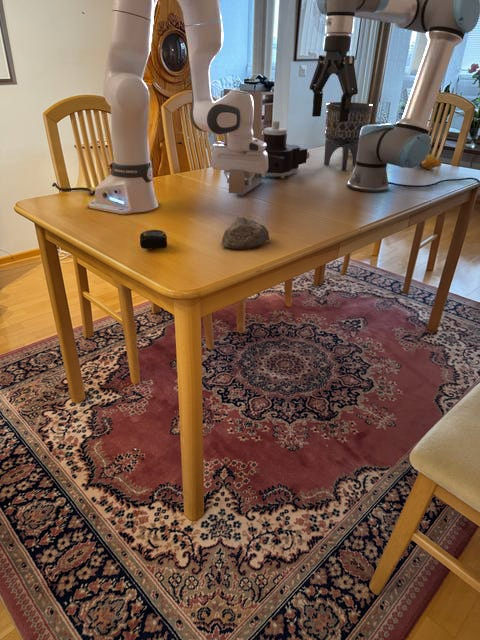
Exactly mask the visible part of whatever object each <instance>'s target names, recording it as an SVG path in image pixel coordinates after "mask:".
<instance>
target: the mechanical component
mask: <svg viewBox="0 0 480 640" xmlns="http://www.w3.org/2000/svg"><path fill="white" fill-rule="evenodd" d="M287 138H288V129H287V128H286V127H280V121H279V120H272V126H271V127H265V128H264V129H263V142H265V143H266V148H265V149H264V150H265V151H266V152H267V155H268V170H267V172H266V173H264V174H262V178H267V177H279V178H280V179H285V176H291V175H292V173H298V171H299V167H300V165H303V164H304V165H305V164H307V160H309V158H310V156H311V154H310V152H309V151H308V148H304V147H301V146H299V145H297V144H290V143H287Z"/></svg>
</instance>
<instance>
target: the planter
mask: <svg viewBox="0 0 480 640" xmlns="http://www.w3.org/2000/svg"><path fill="white" fill-rule="evenodd" d="M340 105H341V101H333V102H327V103H326V109H325V124H324V125H325V126H324V139H325V144H324V156H323V157H324V158H323V165H325V166H328V165H330V163H331V158H332V156H333V154H334V153H335V151H336V150H337V149H340V148H341V152H342V153H341V166H340V170H341V172H345V171H347V167H348V166H347V165H348V159H349V154H348V152H349V150H350V151H351V153H352V154H351V157H352V158H351V159H352V160H351V161H352V166H353V167H355V165H356V158H357V150H358V142H359V136H360V131H361V128H362V127H363V126H365V125H370V121H371V116H372V112H373V107H374V106H373V104H372V103H367V102H353V101H351V106H350V109H349V116H348V122H339V113H340Z"/></svg>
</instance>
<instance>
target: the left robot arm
mask: <svg viewBox="0 0 480 640" xmlns="http://www.w3.org/2000/svg"><path fill="white" fill-rule="evenodd" d="M176 2H178V4H179V6H180V9H181V12H182V16H183V17H182V18H183V23H184V30H185V38H186V44H187V50H188V51H187V52H188V66H189V67H188V68H189V78H190V88H191V89H190V90H191V106H190V109H189V110H190V112H189V118H190V122H191V124H192V126H193V127H194V128H195V129H196V130H197V131H200V132H205V133H210V134H213V135H224V134H226V141H218V140H217V141H215V142H212V144H211V147H210V148H211V150H210V151H211V161H210V166H211V168H212V169H213V170H218V171H223V175H224V176H225V178H226V184H229V170H239V171H246V172H249V176H250V178H249V179H247V180H246V185H251V180H252V178H253V176H254V175H255V173H260V174H264V173H266V172H267V170H268V155H267V152H266V151H265V150H264V149H265V148H266V143H265V142H264V140H263V141H262V140H260V139H258V138H256V137H254V130H253V124H254V119H255V118H254V117H255V104H254V98H253V96H252V94H251V93H249V92H247V91H244V90H239V89H231V90H229V92H228V93H227V94H226V95H224V96H223V97H221V98H219V99H217V100H214V99H213V97H212V88H211V76H210V75H211V74H210V69H211V64H212V62H213V60H214V59H215V58H216V57H217V56H218V54H219V53H220V52H221V50H222V49H223V46H224V27H223V21H222V20H223V18H222V13H221V7H220V2H219V0H176ZM157 3H158V0H113V1H112V8H111V21H110V22H111V23H110V32H109V33H110V34H109V46H108V50H107V51H108V52H107V57H106V64H105V70H104V77H103V78H104V79H103V86H102V92H103V97H104V99H105V102H106V104H107V105H108V106H109V107H110V118H111V132H110V133H111V134H110V138H111V146H112V155H113V162H112V163H110V164H108V165H107V166H106V167H107V170H110V174H109V175H108V176H107V177H106V178H104V179H103V180H102V181H101V182H100V183H99V184H97V186H96V187H95V189H93V190H92V188H89V187H84V186H83V187H60V186H59V185H58V184H57V182H53V183H52V185H51V187H52V188H53V187H55V188H56V189H57V190H59V191H62V192H71V191H72V192H73V191H87V192H89V195H90V196H91V197H93V196H94V199H92V200H91V201H90V202H89V203H88V208H89V209H93V210H98V211H104V212H107V213H113V214H119V215H129V214H134V213H144V212H149V211H153V210H155V209H157V208H158V207H159V203H158V201H157V197H156V193H155V189H154V184H153V183H154V182H153V178H154V177H153V176H154V175H153V165H152V161H151V156H150V146H149V145H150V144H149V143H150V142H149V126H150V102H151V94H150V90H149V87H148V86H147V84H146V82H145V81H144V80H143V79H144V77H145V76H144V75H145V72H146V67H147V63H148V59H149V57H150V52H151V43H152V34H153V25H154V16H155V8H156V5H157Z"/></svg>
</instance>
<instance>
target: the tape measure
mask: <svg viewBox="0 0 480 640" xmlns="http://www.w3.org/2000/svg"><path fill="white" fill-rule="evenodd" d="M167 236H168V235H167V234H166V232H165V231H164V230H161V229H147V230H144V231H143V232H141V233H140V235H139V240H140V241H139V245H140V246H139V247H141V248H142V249H146V250H157V249H167V248H168V240H167V239H168V237H167Z"/></svg>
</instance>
